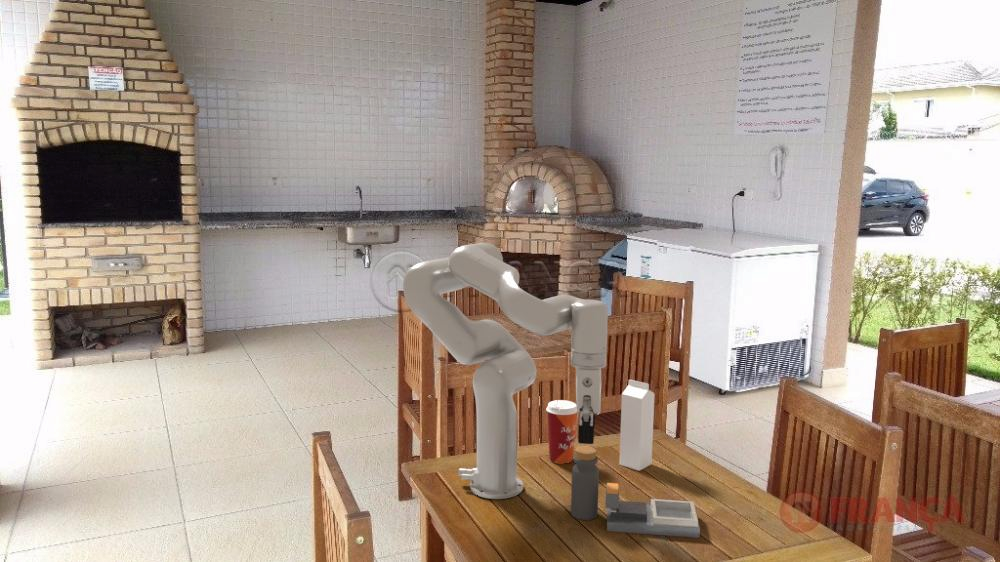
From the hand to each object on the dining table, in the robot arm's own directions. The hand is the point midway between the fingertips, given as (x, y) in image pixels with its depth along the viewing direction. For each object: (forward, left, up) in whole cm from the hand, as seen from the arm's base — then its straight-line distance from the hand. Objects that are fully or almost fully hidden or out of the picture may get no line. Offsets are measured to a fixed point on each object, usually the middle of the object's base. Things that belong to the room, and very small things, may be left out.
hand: (586, 435), depth 166 cm
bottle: (0, 0, -18) cm, 18 cm away
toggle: (+6, -2, -15) cm, 16 cm away
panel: (+14, -2, -18) cm, 23 cm away
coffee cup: (-7, +30, -18) cm, 36 cm away
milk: (+12, +30, -18) cm, 37 cm away
